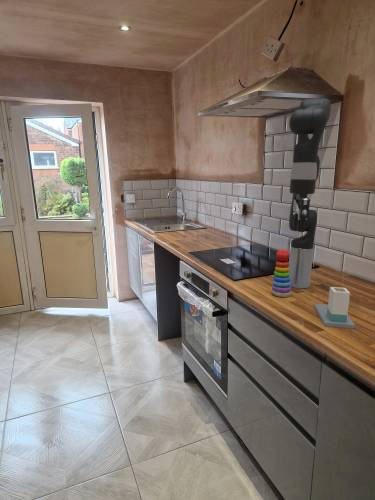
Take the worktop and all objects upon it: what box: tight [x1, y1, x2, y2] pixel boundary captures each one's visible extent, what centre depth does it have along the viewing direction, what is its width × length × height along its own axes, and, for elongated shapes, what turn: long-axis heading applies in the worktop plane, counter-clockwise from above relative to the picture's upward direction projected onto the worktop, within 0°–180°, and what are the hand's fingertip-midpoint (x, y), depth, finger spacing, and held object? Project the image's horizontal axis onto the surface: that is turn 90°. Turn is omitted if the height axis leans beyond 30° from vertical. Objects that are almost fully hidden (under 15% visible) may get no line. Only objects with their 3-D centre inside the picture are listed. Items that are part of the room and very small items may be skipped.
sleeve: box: [327, 286, 351, 322], centre depth 105 cm, size 5×5×10 cm
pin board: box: [313, 303, 356, 329], centre depth 110 cm, size 16×9×6 cm, turn 171°
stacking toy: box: [270, 248, 292, 298], centre depth 129 cm, size 8×8×19 cm
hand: (298, 229), depth 104 cm, fingers open, 8 cm apart
